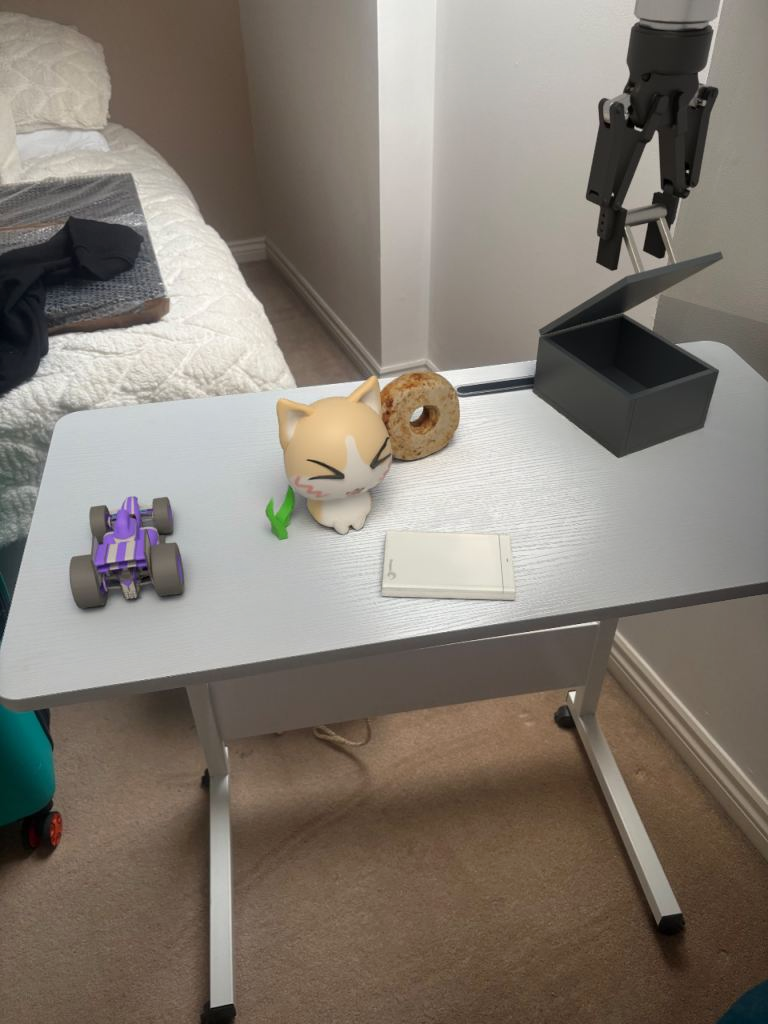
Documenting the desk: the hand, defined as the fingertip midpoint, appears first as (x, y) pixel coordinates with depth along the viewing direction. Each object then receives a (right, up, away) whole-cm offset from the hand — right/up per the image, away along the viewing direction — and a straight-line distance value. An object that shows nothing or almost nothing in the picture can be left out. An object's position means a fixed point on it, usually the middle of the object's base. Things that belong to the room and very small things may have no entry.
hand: (630, 259), depth 93 cm
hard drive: (-21, -34, -12) cm, 42 cm away
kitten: (-32, -29, -5) cm, 44 cm away
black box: (+1, -15, +10) cm, 19 cm away
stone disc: (-24, -22, +3) cm, 32 cm away
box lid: (0, -4, +3) cm, 5 cm away
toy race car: (-52, -33, -10) cm, 63 cm away
